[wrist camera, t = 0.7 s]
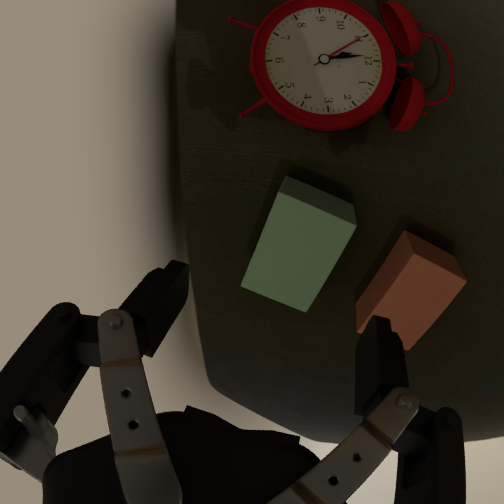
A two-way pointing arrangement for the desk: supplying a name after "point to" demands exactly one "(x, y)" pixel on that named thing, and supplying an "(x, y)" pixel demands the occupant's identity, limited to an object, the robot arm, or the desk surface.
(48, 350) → the robot arm
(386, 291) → the pad terracotta
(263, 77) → the alarm clock
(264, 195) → the desk surface
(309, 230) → the pad sage
